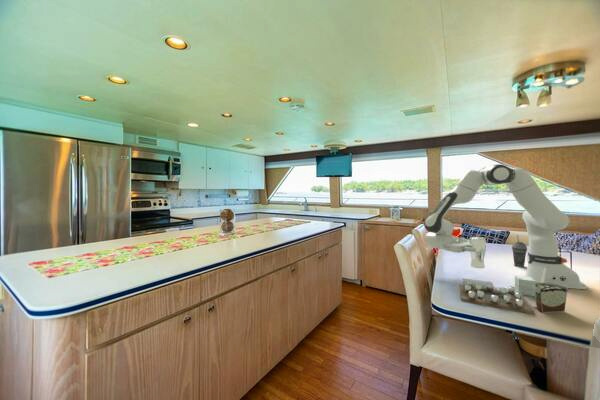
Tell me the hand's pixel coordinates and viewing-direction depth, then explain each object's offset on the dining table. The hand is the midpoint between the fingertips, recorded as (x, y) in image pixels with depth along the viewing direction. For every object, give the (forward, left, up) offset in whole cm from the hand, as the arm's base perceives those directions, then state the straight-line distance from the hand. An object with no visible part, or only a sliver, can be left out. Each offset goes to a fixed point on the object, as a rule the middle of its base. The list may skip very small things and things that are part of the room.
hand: (479, 249), depth 125 cm
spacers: (-3, +17, -19) cm, 25 cm away
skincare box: (-17, +2, -19) cm, 26 cm away
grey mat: (+1, 0, -19) cm, 19 cm away
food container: (-21, +17, -19) cm, 33 cm away
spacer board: (-3, +17, -19) cm, 25 cm away
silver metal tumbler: (+1, 0, -9) cm, 9 cm away
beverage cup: (-24, -48, -19) cm, 57 cm away
